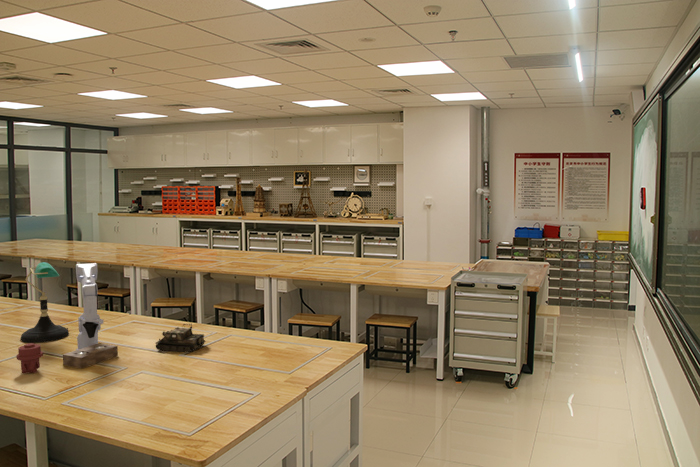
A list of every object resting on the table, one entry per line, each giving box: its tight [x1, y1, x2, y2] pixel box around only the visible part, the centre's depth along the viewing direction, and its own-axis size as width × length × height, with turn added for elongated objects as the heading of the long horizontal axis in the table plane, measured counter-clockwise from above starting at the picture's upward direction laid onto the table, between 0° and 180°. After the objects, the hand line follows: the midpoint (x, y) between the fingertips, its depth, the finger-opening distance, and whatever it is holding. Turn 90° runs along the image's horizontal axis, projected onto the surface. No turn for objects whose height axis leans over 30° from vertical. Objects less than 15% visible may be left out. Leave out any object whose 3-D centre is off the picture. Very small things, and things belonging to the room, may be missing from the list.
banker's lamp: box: [20, 262, 70, 344], centre depth 283 cm, size 26×23×40 cm
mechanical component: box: [15, 343, 44, 375], centre depth 229 cm, size 12×10×10 cm
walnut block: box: [62, 342, 119, 370], centre depth 245 cm, size 12×20×5 cm, turn 156°
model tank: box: [154, 322, 206, 353], centre depth 265 cm, size 13×22×15 cm, turn 83°
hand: (91, 337), depth 248 cm, fingers closed
